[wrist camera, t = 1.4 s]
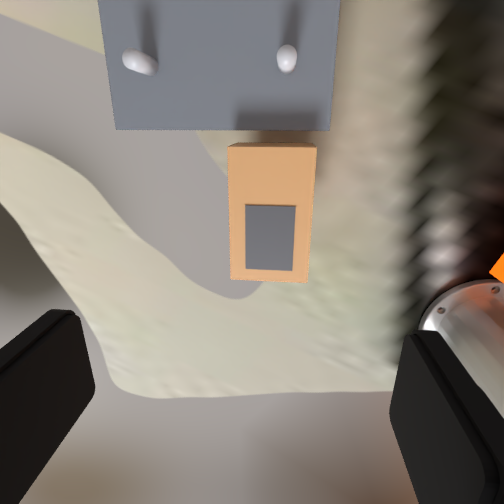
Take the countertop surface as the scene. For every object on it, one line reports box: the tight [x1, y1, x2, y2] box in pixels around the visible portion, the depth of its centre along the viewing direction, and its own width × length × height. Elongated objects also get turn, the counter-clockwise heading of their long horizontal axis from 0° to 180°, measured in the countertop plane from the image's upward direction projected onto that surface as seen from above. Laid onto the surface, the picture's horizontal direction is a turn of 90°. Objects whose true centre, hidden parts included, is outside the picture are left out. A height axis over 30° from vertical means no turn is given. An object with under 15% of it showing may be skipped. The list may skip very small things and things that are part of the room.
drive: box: [227, 143, 317, 283], centre depth 26 cm, size 10×6×5 cm, turn 0°
